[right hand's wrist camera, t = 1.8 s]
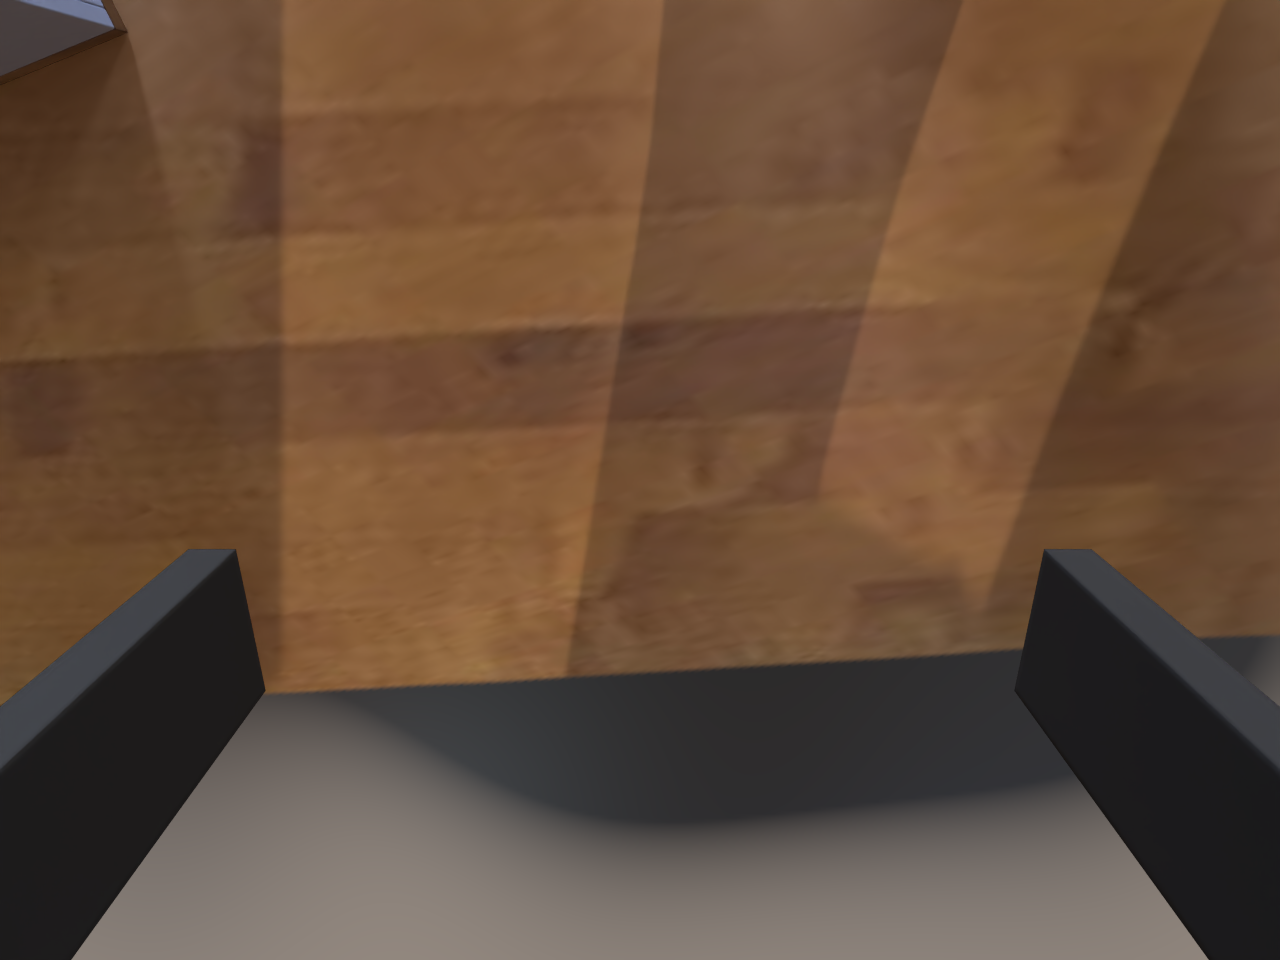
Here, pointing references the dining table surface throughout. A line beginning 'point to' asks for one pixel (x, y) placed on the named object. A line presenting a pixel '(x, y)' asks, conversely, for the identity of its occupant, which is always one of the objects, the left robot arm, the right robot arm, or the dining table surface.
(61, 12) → the chest
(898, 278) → the dining table surface
